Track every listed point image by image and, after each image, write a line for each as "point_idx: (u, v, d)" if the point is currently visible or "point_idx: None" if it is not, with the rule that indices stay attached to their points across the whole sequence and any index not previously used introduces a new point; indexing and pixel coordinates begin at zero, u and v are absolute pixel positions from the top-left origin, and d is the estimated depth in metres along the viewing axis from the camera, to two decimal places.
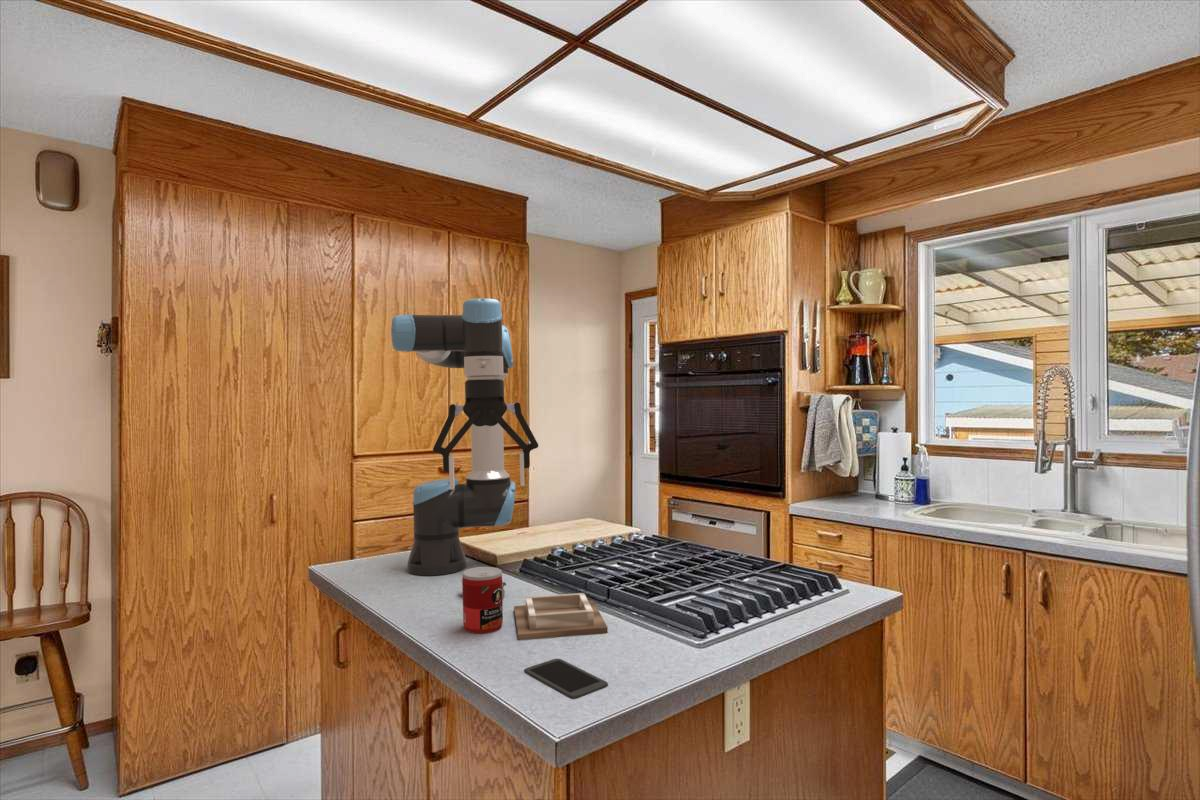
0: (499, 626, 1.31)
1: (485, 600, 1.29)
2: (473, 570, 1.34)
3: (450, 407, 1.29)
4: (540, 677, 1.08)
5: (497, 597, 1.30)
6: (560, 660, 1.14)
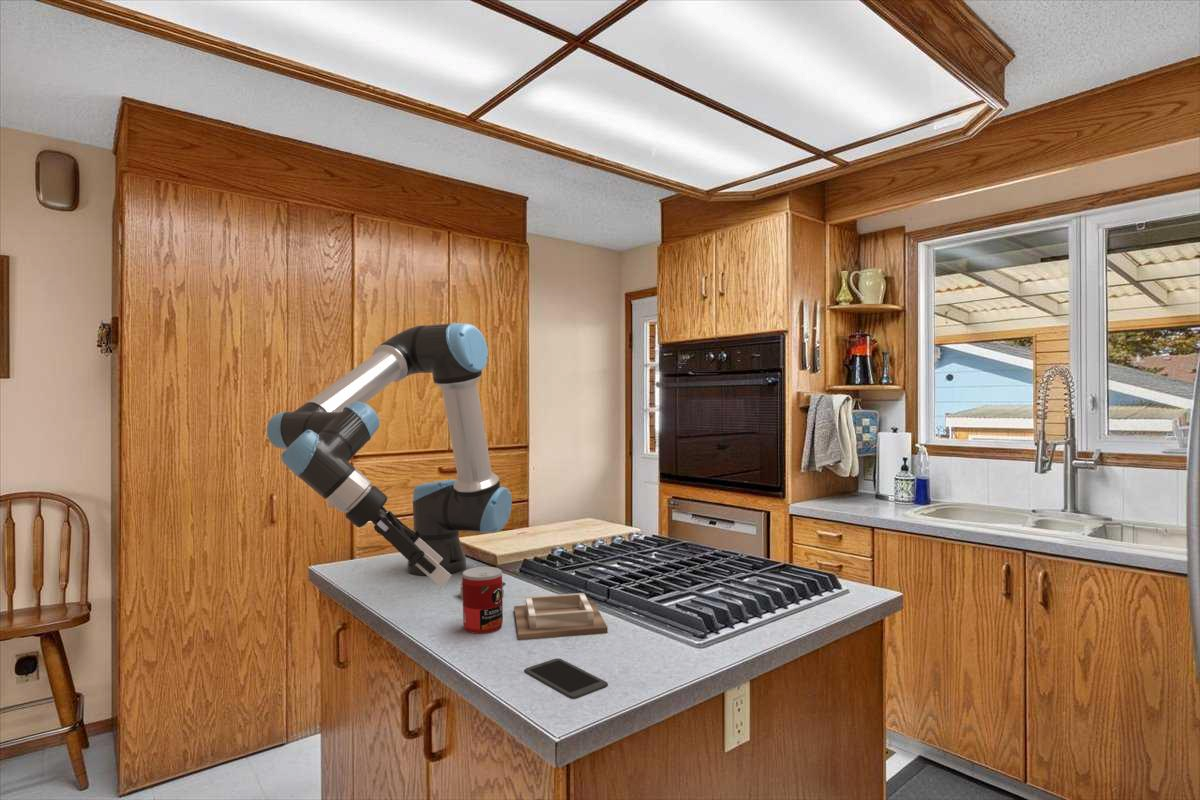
0: (499, 626, 1.31)
1: (485, 600, 1.29)
2: (473, 570, 1.34)
3: None
4: (540, 677, 1.08)
5: (497, 597, 1.30)
6: (560, 660, 1.14)
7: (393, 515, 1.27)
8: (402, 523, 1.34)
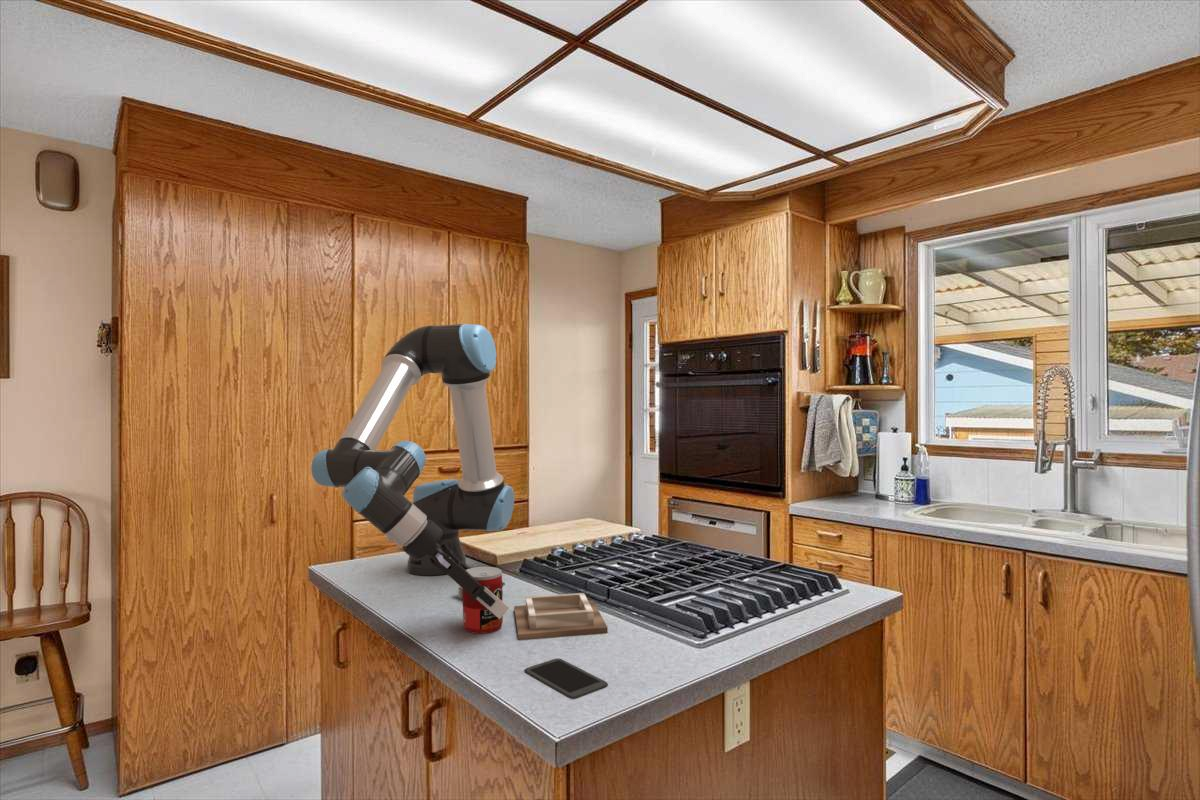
0: (499, 626, 1.31)
1: None
2: (473, 570, 1.34)
3: None
4: (540, 677, 1.08)
5: None
6: (560, 660, 1.14)
7: (447, 547, 1.31)
8: (458, 559, 1.37)
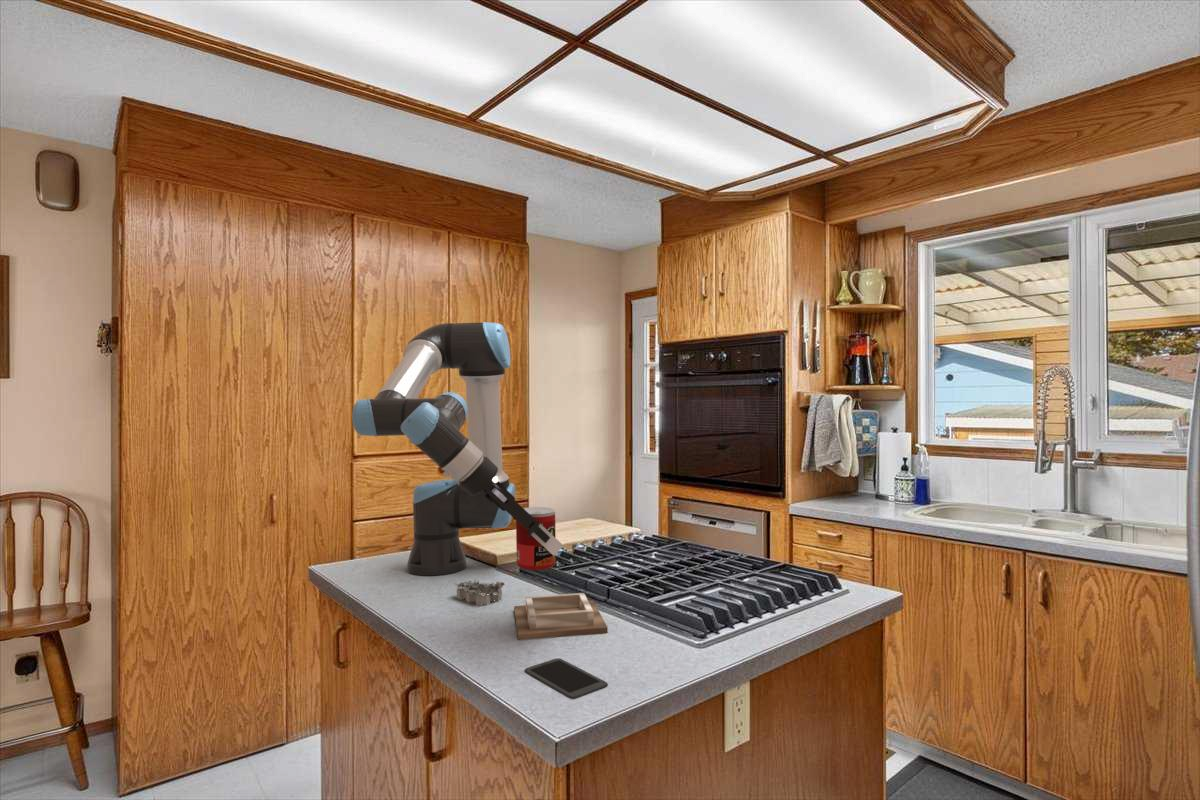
0: (552, 564, 1.31)
1: None
2: (526, 509, 1.35)
3: None
4: (540, 677, 1.08)
5: None
6: (560, 660, 1.14)
7: None
8: None
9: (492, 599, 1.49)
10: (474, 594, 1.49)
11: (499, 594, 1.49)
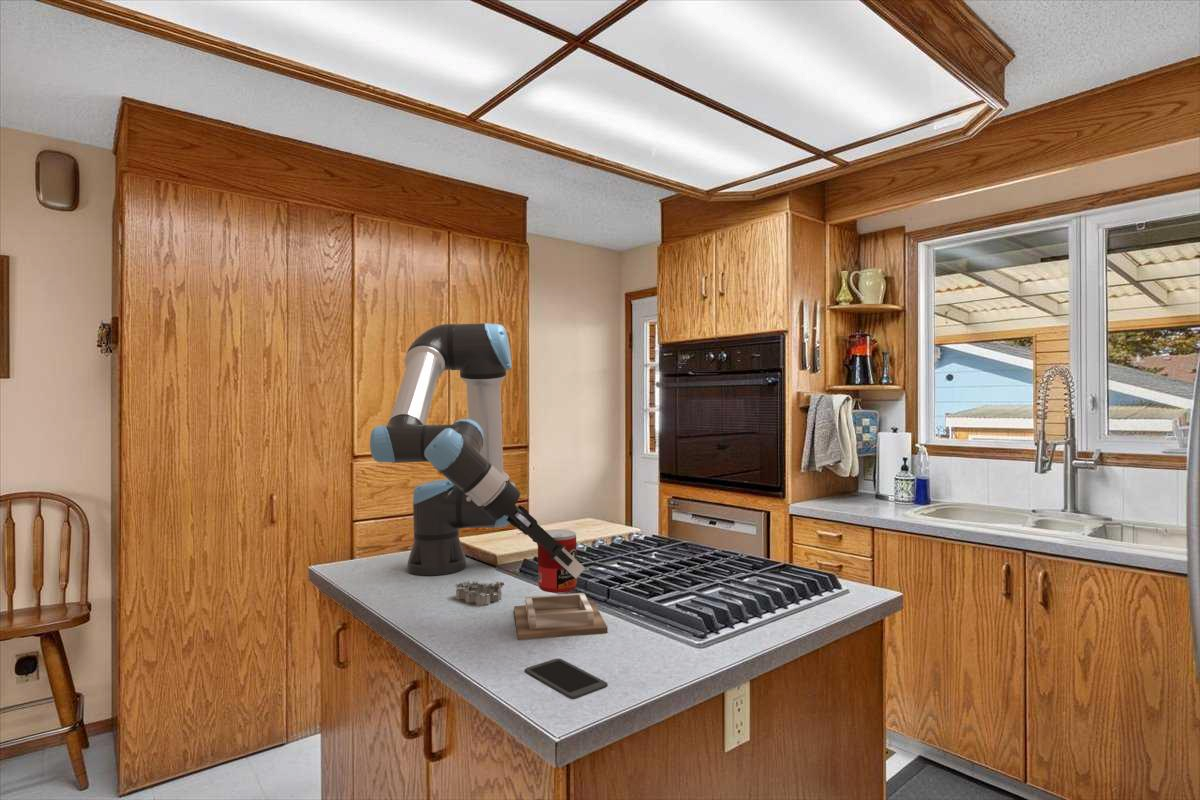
0: (574, 586, 1.33)
1: None
2: (547, 532, 1.37)
3: None
4: (540, 677, 1.08)
5: None
6: (561, 660, 1.14)
7: None
8: None
9: (492, 599, 1.49)
10: (474, 594, 1.48)
11: (499, 594, 1.49)
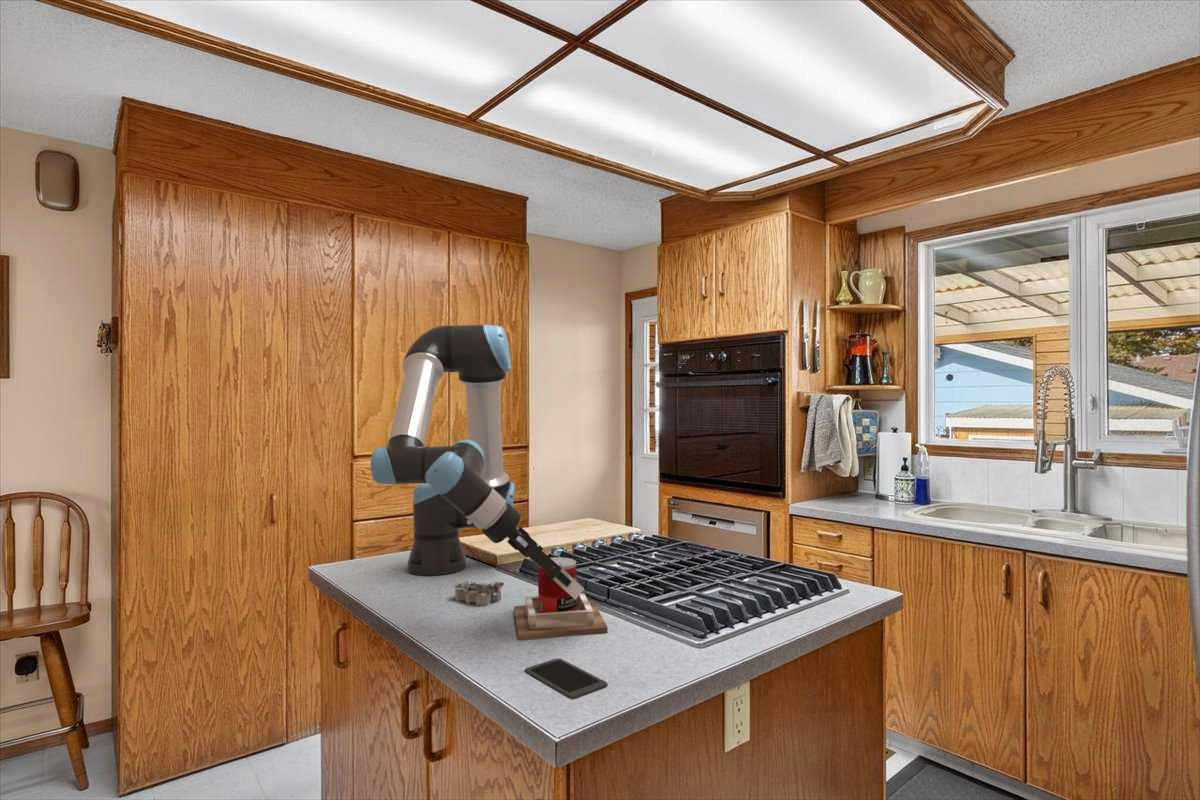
0: None
1: (562, 590, 1.31)
2: None
3: None
4: (540, 677, 1.08)
5: None
6: (561, 660, 1.14)
7: None
8: None
9: (492, 599, 1.49)
10: (474, 595, 1.48)
11: (499, 594, 1.49)
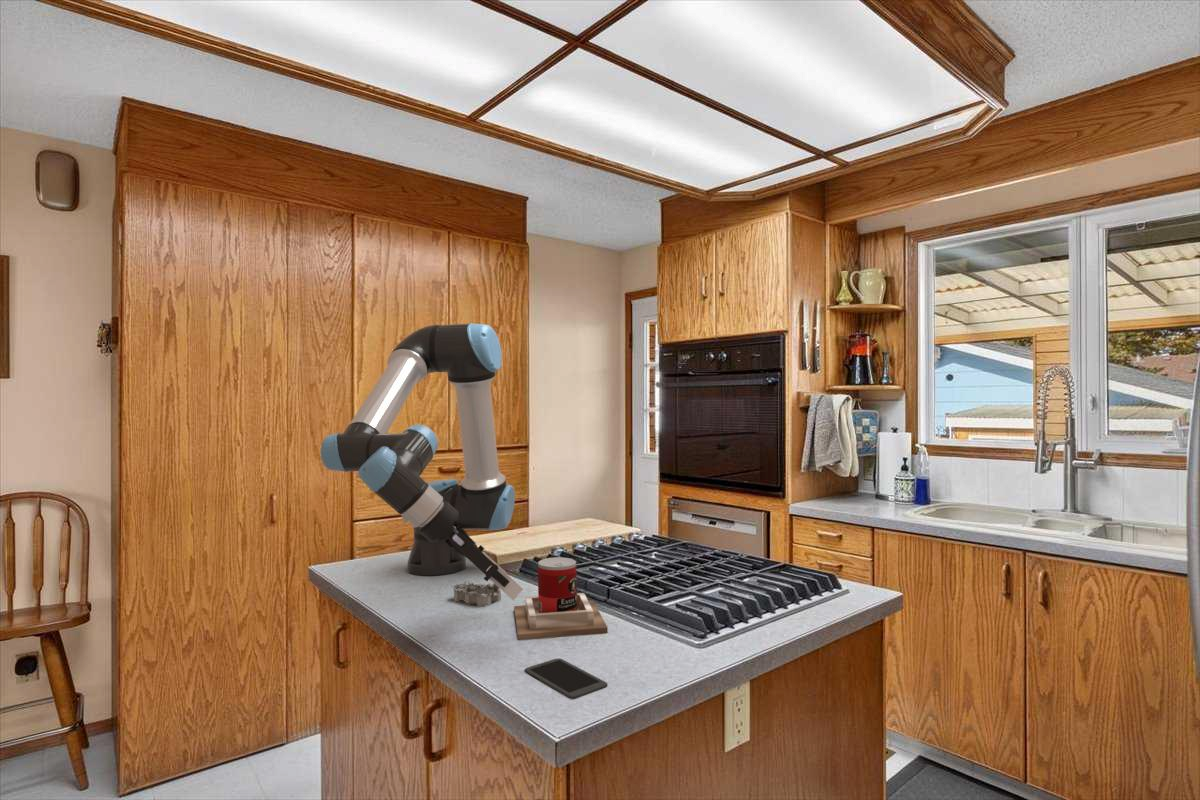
0: None
1: (562, 590, 1.31)
2: (547, 560, 1.37)
3: None
4: (540, 677, 1.08)
5: (573, 587, 1.33)
6: (561, 660, 1.14)
7: None
8: None
9: (492, 600, 1.48)
10: (473, 595, 1.48)
11: (499, 594, 1.49)
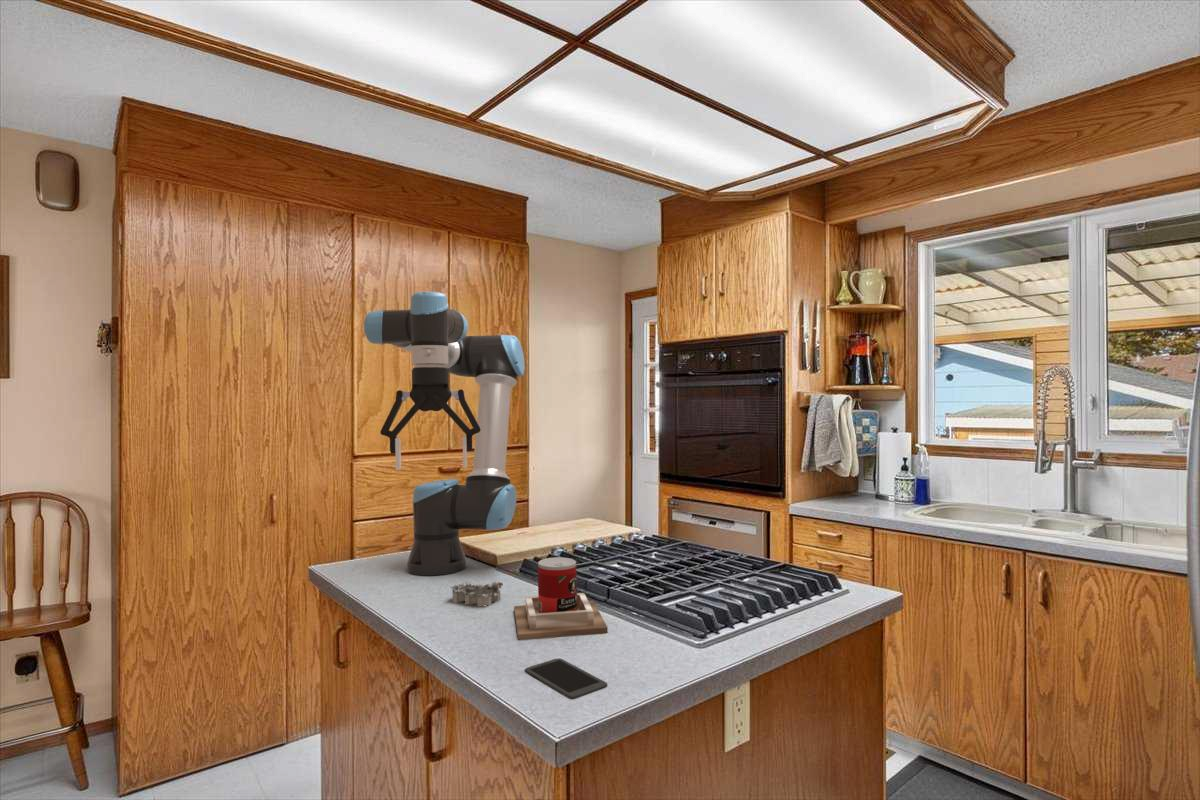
0: None
1: (562, 590, 1.31)
2: (547, 560, 1.37)
3: (397, 393, 1.38)
4: (540, 677, 1.08)
5: (573, 587, 1.33)
6: (561, 660, 1.14)
7: None
8: None
9: (492, 600, 1.48)
10: (473, 596, 1.47)
11: (498, 594, 1.49)
